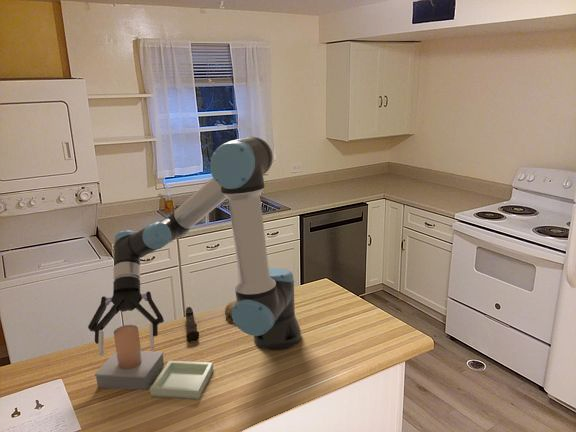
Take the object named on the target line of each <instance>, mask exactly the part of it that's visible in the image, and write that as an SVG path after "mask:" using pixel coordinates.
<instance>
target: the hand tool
mask: <svg viewBox="0 0 576 432" xmlns="http://www.w3.org/2000/svg"><path fill="white" fill-rule="evenodd" d="M193 310H194V309H193V308H192V307H191V306H187V307H186V308H185V318H186V321H185V322H186V330H187V331H186V333H187V334H186V341H187V342H188V343H195V342H197V341H199V339H200V332H199V331H198V325H197V323H196V321H195V316H194V311H193Z"/></svg>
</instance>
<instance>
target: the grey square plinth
mask: <svg viewBox="0 0 576 432" xmlns="http://www.w3.org/2000/svg"><path fill="white" fill-rule="evenodd" d="M163 354H164V351H156V350H155V351H154V350H152V351H151V350H141V355H142V362H141V364H140V365H138V366H137V367H134V368H131V369H122V368H120V367H119V366H118V360H117V353H116V350H115V352H114V353H112V355H110V357H109V358H108V359H107V360H106V361H105V362H104V363H103V364H102V366H101V367H100V368H99V369H98V370H97V371H96V372H95V373H94V376H95V377H96V383H97V384H96V385H97V388H105V389H118V390H119V389H120V390H121V389H122V390H137V391H139V390H140V391H147V390H148V388H149V387H150V385H151V384H152V383H153V381H154V380H155V378H156V377H158V376H157V375H158V374H159V373H160V371H162V369H163V368H164V365H165V364H164V355H163Z"/></svg>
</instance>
